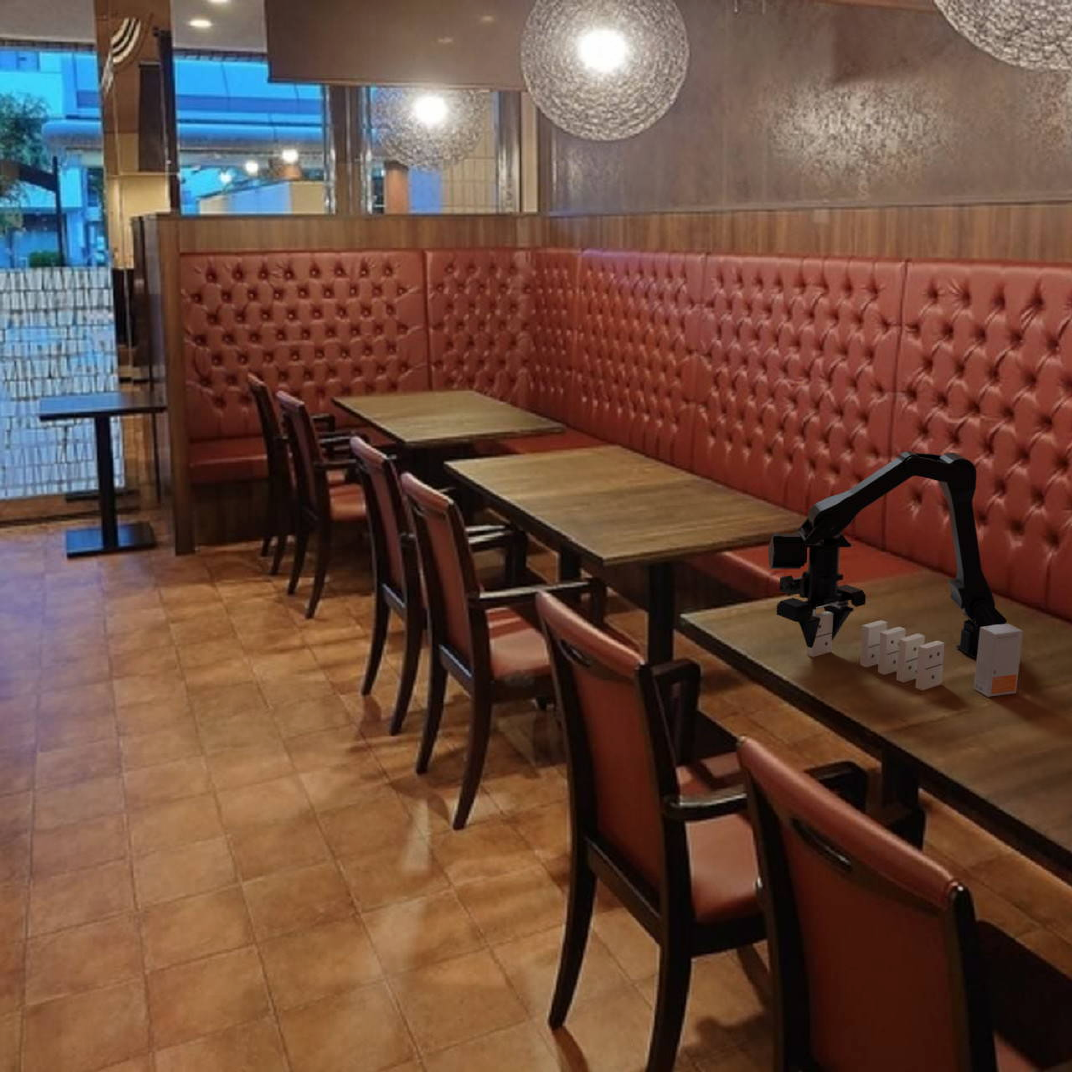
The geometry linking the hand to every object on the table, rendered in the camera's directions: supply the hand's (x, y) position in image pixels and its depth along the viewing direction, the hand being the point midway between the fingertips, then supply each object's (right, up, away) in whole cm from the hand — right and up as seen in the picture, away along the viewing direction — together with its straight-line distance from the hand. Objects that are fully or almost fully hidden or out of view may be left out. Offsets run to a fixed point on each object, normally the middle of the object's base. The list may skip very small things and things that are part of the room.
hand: (819, 644), depth 221 cm
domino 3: (+11, -4, -9) cm, 15 cm away
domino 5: (+16, -6, -16) cm, 23 cm away
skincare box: (+27, -7, -19) cm, 33 cm away
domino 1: (0, -2, 0) cm, 2 cm away
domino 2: (+9, -3, -5) cm, 11 cm away
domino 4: (+13, -5, -12) cm, 19 cm away
